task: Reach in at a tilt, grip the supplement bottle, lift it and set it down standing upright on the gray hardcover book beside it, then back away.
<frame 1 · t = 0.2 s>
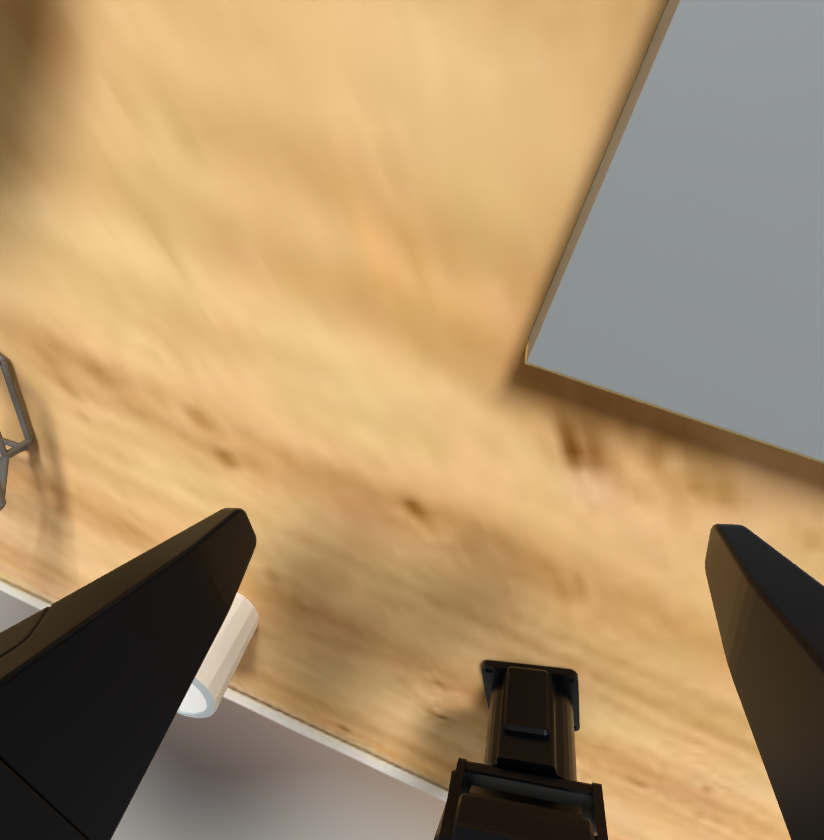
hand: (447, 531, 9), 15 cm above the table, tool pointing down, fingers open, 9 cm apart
white cylinder: (229, 606, 39), on the table
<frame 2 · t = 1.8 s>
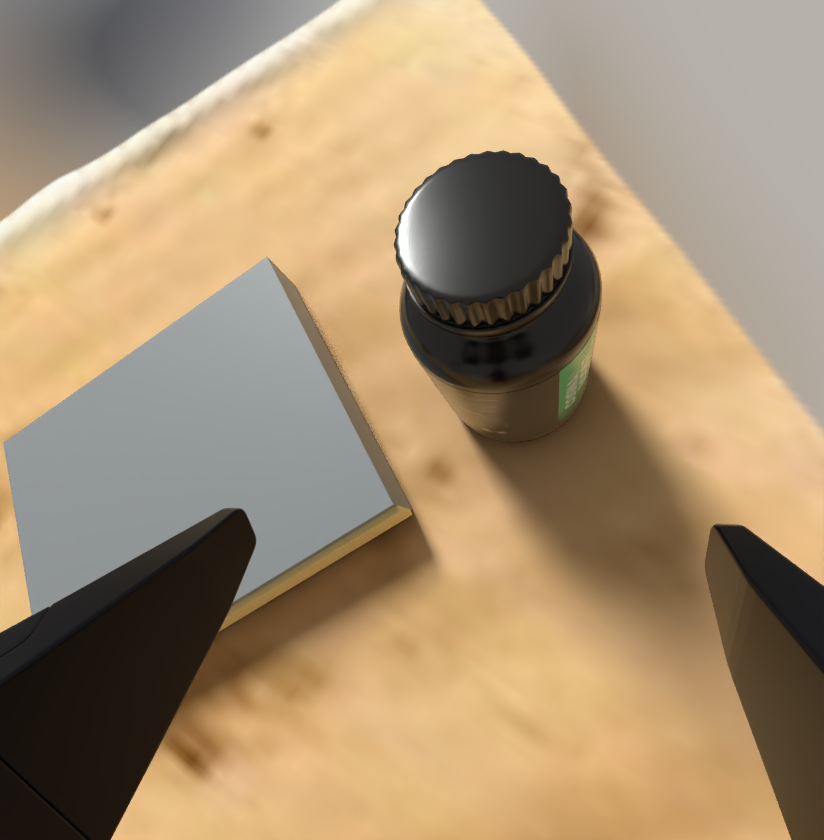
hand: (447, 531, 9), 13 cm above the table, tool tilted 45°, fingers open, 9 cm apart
supplement bottle: (514, 379, 24), on the table
gray hardcover book: (205, 476, 27), on the table
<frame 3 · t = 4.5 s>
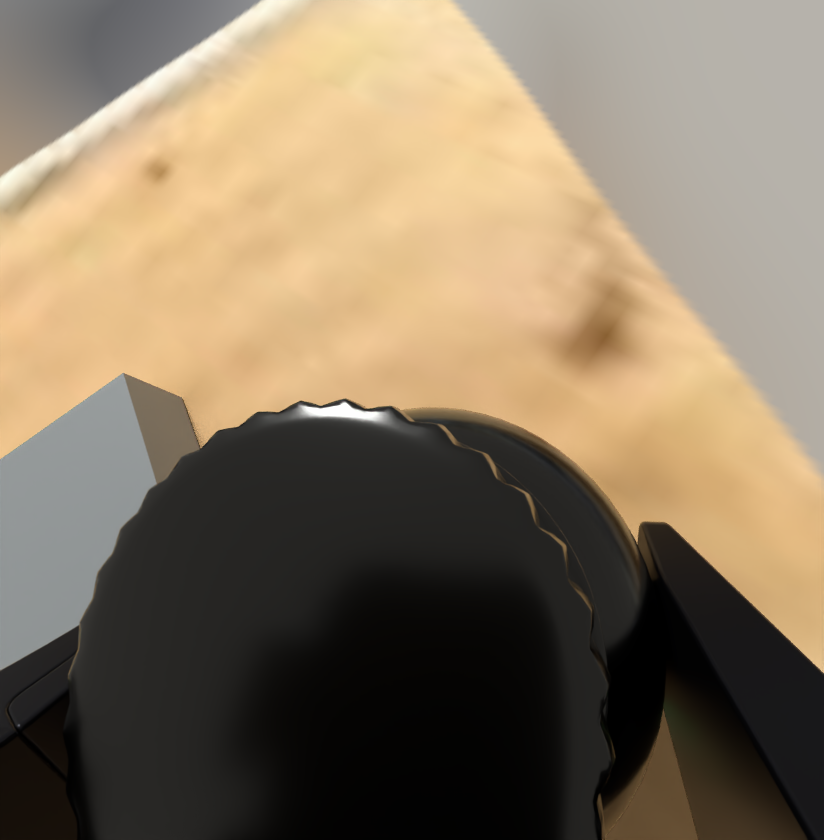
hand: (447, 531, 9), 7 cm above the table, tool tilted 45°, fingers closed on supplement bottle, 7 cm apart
supplement bottle: (490, 586, 15), on the table, touching gripper
gray hardcover book: (39, 692, 18), on the table
when the fingers open (11 cm above the table, at t = 8.9 s): supplement bottle stays where it is, resting on gray hardcover book.
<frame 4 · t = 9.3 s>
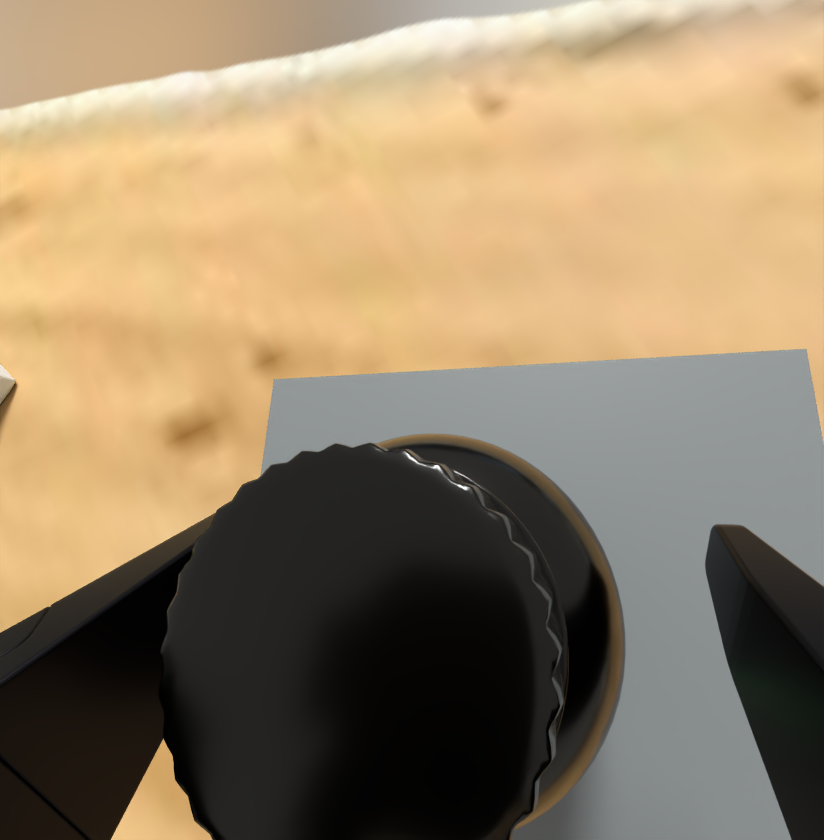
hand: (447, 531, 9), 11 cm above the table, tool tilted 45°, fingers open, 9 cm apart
supplement bottle: (487, 586, 16), point 3 cm above the table, touching gray hardcover book
gray hardcover book: (505, 579, 19), on the table
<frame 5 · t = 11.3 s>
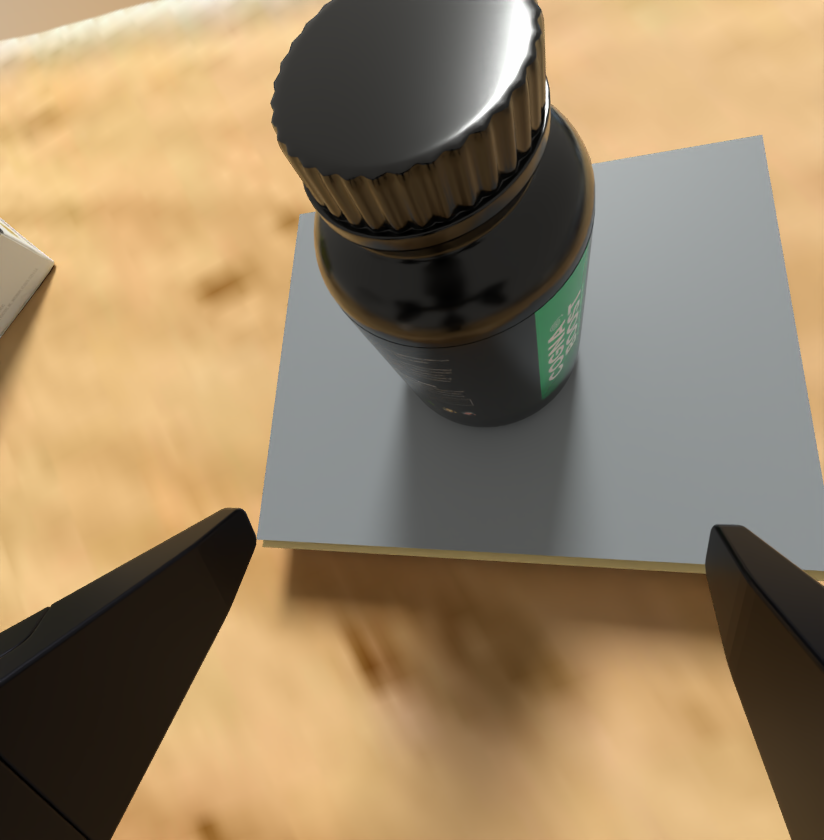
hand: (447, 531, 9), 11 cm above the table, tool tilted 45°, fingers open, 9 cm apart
supplement bottle: (489, 351, 19), point 3 cm above the table, touching gray hardcover book
gray hardcover book: (505, 372, 22), on the table
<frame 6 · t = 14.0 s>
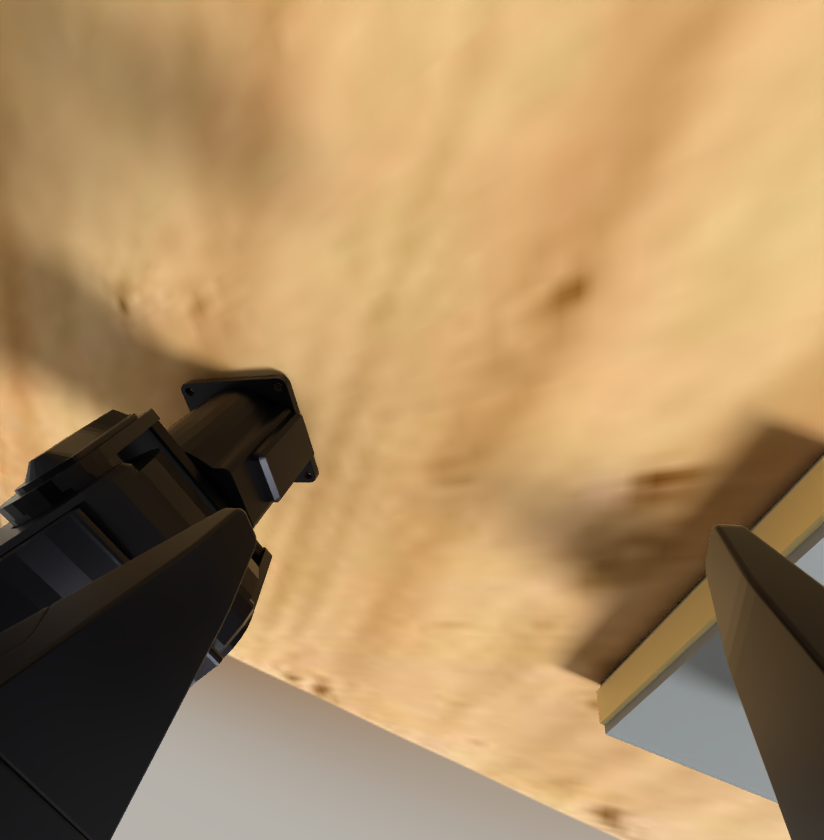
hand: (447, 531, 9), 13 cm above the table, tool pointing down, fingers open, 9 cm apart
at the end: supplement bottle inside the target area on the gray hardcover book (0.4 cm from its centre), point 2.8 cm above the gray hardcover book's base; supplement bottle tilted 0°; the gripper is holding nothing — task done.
